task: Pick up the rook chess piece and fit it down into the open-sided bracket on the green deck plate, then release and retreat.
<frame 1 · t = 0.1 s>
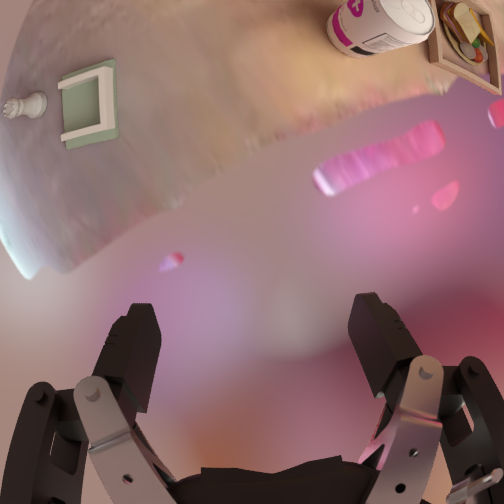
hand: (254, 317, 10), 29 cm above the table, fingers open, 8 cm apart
rook chess piece: (39, 104, 27), on the table
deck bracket: (89, 104, 29), on the table
tray rim: (461, 33, 23), on the table
supplement can: (351, 34, 27), on the table
toy sandwich meal: (459, 34, 23), resting in tray rim
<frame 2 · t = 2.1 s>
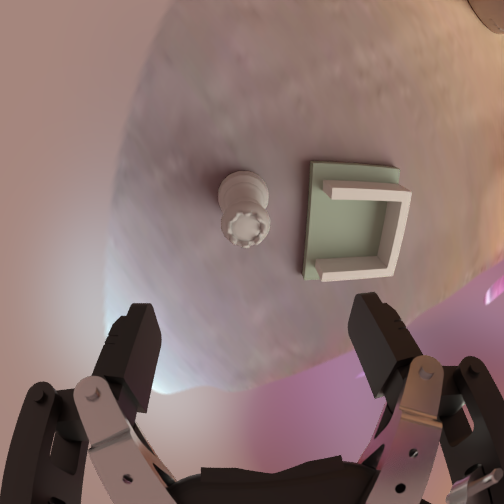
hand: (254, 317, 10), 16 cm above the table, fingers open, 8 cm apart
rook chess piece: (243, 192, 24), on the table
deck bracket: (349, 222, 26), on the table
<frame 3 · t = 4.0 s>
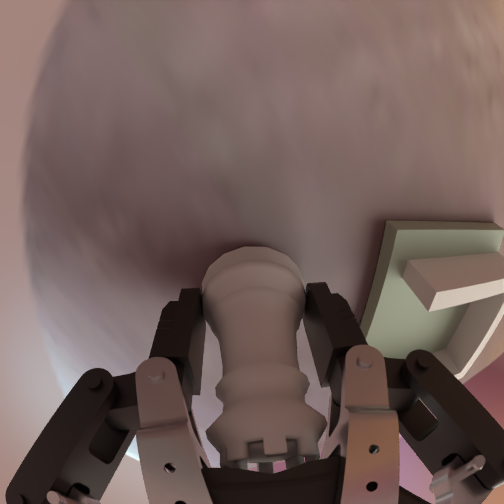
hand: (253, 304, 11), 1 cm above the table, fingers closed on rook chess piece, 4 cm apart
rook chess piece: (252, 282, 12), on the table, touching gripper
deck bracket: (422, 311, 14), on the table
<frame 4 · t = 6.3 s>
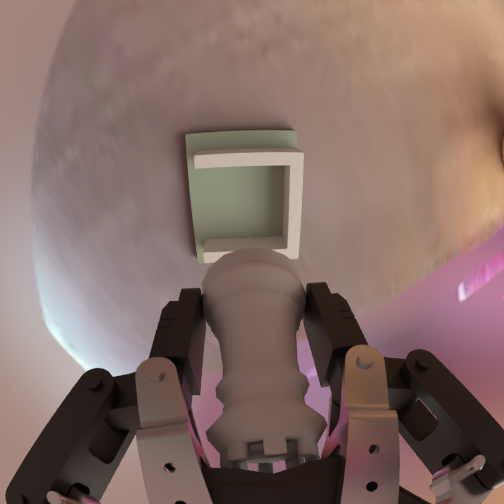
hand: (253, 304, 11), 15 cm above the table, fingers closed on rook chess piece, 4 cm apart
rook chess piece: (252, 283, 12), point 13 cm above the table, touching gripper
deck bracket: (242, 197, 24), on the table
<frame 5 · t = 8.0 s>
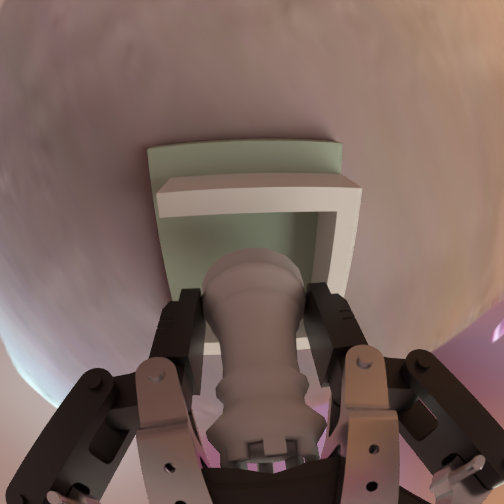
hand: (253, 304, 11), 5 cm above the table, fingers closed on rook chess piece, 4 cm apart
rook chess piece: (252, 283, 12), point 3 cm above the table, touching gripper
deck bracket: (247, 250, 15), on the table
when the fingers open (4 cm above the table, at t = 8.9 s): rook chess piece drops 2 cm, resting on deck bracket.
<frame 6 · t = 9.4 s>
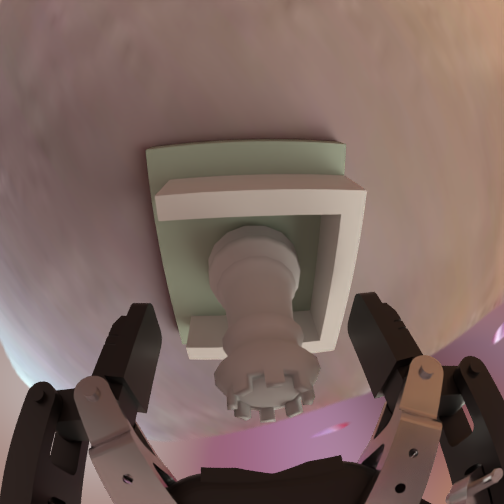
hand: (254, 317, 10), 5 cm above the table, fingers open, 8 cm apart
rook chess piece: (252, 259, 14), point 1 cm above the table, touching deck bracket
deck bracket: (248, 253, 15), on the table
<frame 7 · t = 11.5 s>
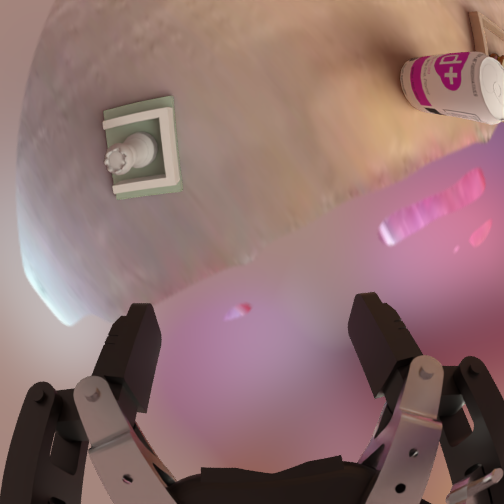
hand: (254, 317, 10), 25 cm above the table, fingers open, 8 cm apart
rook chess piece: (142, 148, 29), point 1 cm above the table, touching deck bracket
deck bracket: (143, 148, 30), on the table
tray rim: (503, 75, 23), on the table
supplement can: (419, 85, 27), on the table
toy sandwich meal: (498, 85, 25), resting in tray rim
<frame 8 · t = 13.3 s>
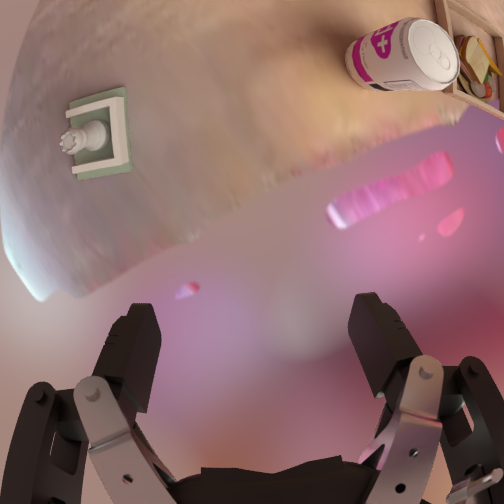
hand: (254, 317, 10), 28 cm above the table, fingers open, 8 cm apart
rook chess piece: (98, 134, 30), point 1 cm above the table, touching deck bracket
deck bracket: (100, 134, 31), on the table
tray rim: (474, 58, 24), on the table
supplement can: (368, 65, 28), on the table
toy sandwich meal: (468, 68, 26), resting in tray rim
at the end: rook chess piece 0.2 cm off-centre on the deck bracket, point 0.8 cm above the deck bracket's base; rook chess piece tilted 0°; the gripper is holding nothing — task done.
